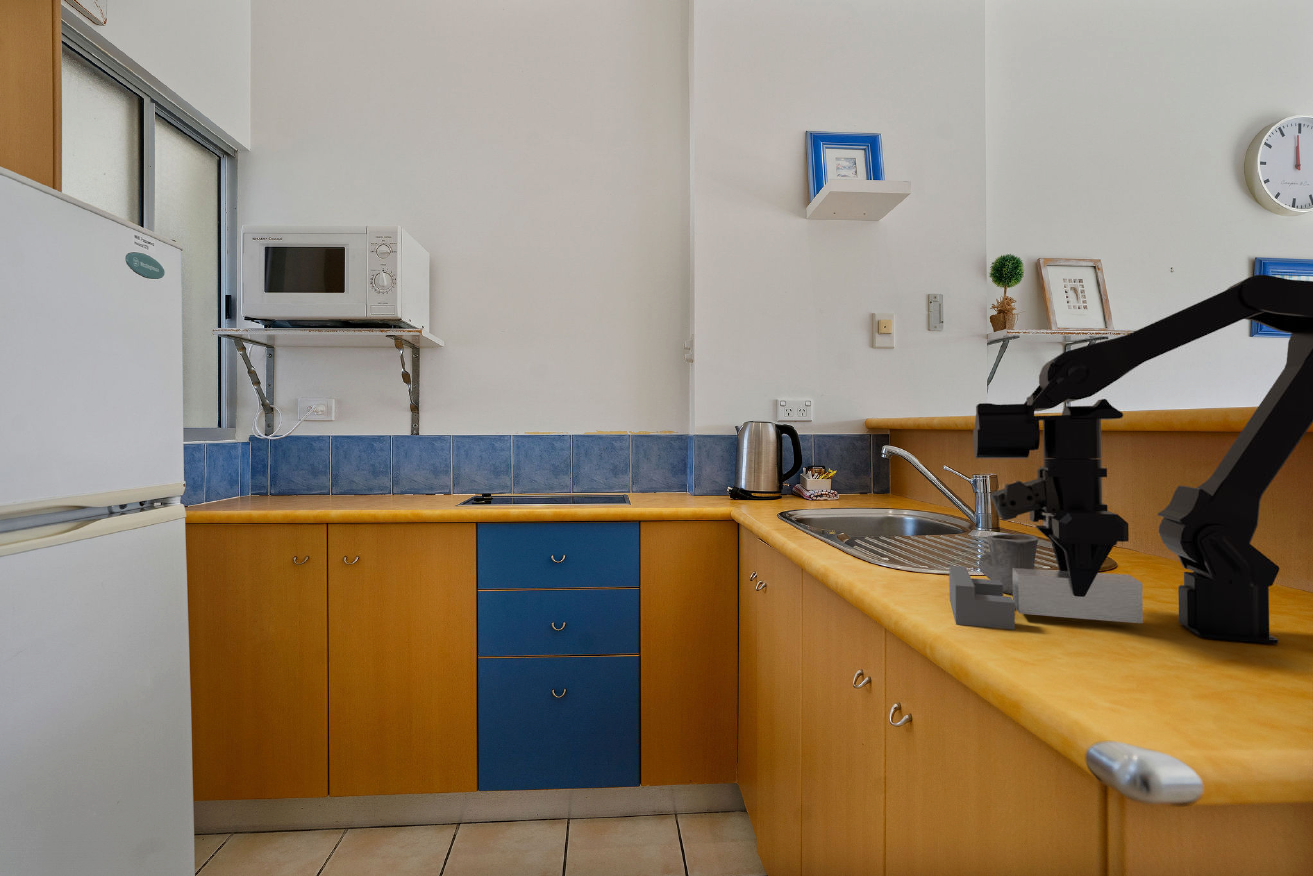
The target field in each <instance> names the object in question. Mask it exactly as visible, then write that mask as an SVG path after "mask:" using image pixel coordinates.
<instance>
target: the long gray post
mask: <svg viewBox="0 0 1313 876" xmlns="http://www.w3.org/2000/svg"><path fill="white" fill-rule="evenodd" d="M1012 600H1013V601H1014V603H1015V611H1017V613H1018V614H1022V615H1034V616H1035V615H1036V616H1047V617H1056V618H1058V617H1059V618H1072V619H1073V618H1074V619H1083V620H1095V621H1108V622H1119V623H1120V622H1122V623H1130V624H1131V623H1133V624H1143V623H1144V620H1143V619H1144V612H1143V610H1144V607H1143V606H1144V605H1143V582H1142V581H1140V580H1138V579H1137V578H1135V577H1133V575H1130V574H1123V573H1121V574H1120V573H1106V572H1103V573H1102V572H1098V573H1097V575H1096V577H1095V579H1094V581H1093V583H1092V584H1091V586H1090V588H1089V590H1088V592H1087V594H1086V596H1084V597H1077V596H1074V595H1073V592H1072V588H1071V583H1070V579H1069V574H1068V571H1059V570H1055V569H1054V570H1052V569H1036V568H1034V569H1021V568H1013V595H1012Z"/></svg>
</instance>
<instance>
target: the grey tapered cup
mask: <svg viewBox="0 0 1313 876" xmlns="http://www.w3.org/2000/svg"><path fill="white" fill-rule="evenodd" d="M986 539H987V544H988V548H989V551H988V552H986V553H984V554H982V555H981V557H980V558H979V559H978V569H979V571H980V572H981V574H982V575H984V576H985V577H986V578H988V580H1000V581H1001V583H1002V584H1003V594H1007V595H1010V596H1011V595H1012V596H1013V568H1021V569H1035V561H1036V555H1037V548H1038V547H1037V546H1038V543H1039V537H1037V536H1036V535H1030V534H1019V533H999V534H992V535H987V536H986Z"/></svg>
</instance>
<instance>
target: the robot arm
mask: <svg viewBox="0 0 1313 876" xmlns="http://www.w3.org/2000/svg"><path fill="white" fill-rule="evenodd" d="M1242 320H1245V321H1246V320H1247V321H1250V322H1251V321H1252V322H1253V323H1256V324H1260V325H1262V326H1265V327H1268V328H1269V329H1273V330H1274V331H1277V332H1282V333H1285V334H1290V337H1289V340H1288V343H1287V352H1286V353H1287V354H1286V355H1287V356H1286V363H1285V366H1284V368H1283V370H1282V371H1281V372H1280V374H1279V376H1278V377H1277V378H1276V380H1275V382H1274V383H1273V385H1272V386H1271V387H1270V389H1269V390H1268V392H1267V394H1265V397H1264V398H1263V399H1262V401H1261V402H1260V403H1259V405H1258V406H1257V408H1256V409H1255V411H1254V412H1253V414H1252V415H1251V417H1250V418H1249V420H1248V421H1247V423H1246V425H1245V426H1244V427H1243V429H1242V431H1240V433H1239V434H1238V436H1237V437H1236V439H1235V441H1234V442H1233V444H1232V445H1231V446H1230V448H1229V450H1228V451H1227V453H1226V454H1225V455H1224V457H1223V458H1222V460H1221V461H1220V463H1219V464H1218V465H1217V467H1216V469H1215V470H1214V471H1213V473H1212V475H1211V476H1210V477H1209V478H1208V479H1207V480H1206V481H1204V482H1203V483H1202V484H1200V485H1199V486H1197V487H1191V486H1185V485H1178V486H1177V487H1176V489H1175V491H1174V493H1173V495H1172V497H1171V500H1170V502H1169V503H1168V505H1167V506H1166V507H1165V508H1164V509H1162V510H1161V511H1159V512H1158V513H1157V516H1158V517H1162V520H1161V522H1160V524H1159V527H1158V533H1159V536H1160V538H1161V541H1162V543H1163V544H1164V546H1165V547H1166V548H1167V549H1168V550H1169V551H1171V552H1173V554H1176V555H1177V557H1178V560H1179V561H1180V564H1181V565H1182V567H1183V569H1186V570H1189V571H1184V572H1183V584H1180V585H1178V588H1177V590H1178V591H1177V592H1178V619H1177V620H1178V623H1179V624H1181V626H1184V627H1185V628H1187V629H1188V630H1189V631H1191V633H1194V634H1195V635H1196V636H1198V637H1201V638H1204V639H1205V638H1207V639H1215V640H1216V639H1217V640H1227V641H1239V642H1248V643H1249V642H1252V643H1263V644H1275V645H1278V644H1279V639H1278V638H1277V637H1275V636H1273V635H1271V634H1270V593H1269V592H1270V588H1269V587H1272V586H1274V582H1275V580H1276V578H1277V576H1278V574H1279V571H1280V566H1279V565H1277V564H1276V563H1275V562H1273V560H1271V559H1270V558H1269V557H1267V556H1266V555H1265V554H1263V553H1262V552H1261V551H1260V550H1258V549H1257V548H1256V547H1254V546H1253V545H1252V544H1251V542H1252V541H1253V537H1254V535H1255V533H1256V530H1257V528H1258V525H1259V518H1260V509H1261V501H1262V497H1263V495H1264V494H1265V492H1266V490H1267V489H1268V488H1269V486H1270V485H1271V483H1272V482H1273V481H1274V480H1275V478H1276V476H1277V475H1278V473H1279V472H1280V471H1281V469H1282V468H1283V466H1284V465H1285V463H1286V462H1287V460H1288V459H1289V458H1290V456H1291V455H1292V453H1293V451H1294V450H1295V449H1296V448H1297V446H1298V445H1299V443H1300V441H1301V440H1302V439H1303V438H1304V436H1305V435H1306V433H1307V431H1309V429H1310V427H1311V426H1312V425H1313V280H1303V279H1299V280H1298V279H1289V278H1285V277H1278V276H1272V275H1268V274H1256V275H1253V276H1250V277H1247V278H1245V279H1243V280H1241V281H1238V282H1237V283H1235V284H1232V285H1231V286H1230V287H1228V288H1227V289H1225V290H1224V291H1222V292H1219V293H1218V294H1215V295H1213V296H1211V297H1208V298H1206V299H1204V300H1202V301H1198V302H1197V303H1195V304H1193V305H1191V306H1188V307H1187V308H1184V309H1182V310H1179V311H1178V312H1174V313H1173V314H1171V315H1169V316H1167V317H1166V316H1165V317H1164V318H1162V319H1159V320H1157V321H1155V322H1152V323H1151V324H1148V325H1145V326H1144V327H1141V328H1139V329H1137V330H1135V331H1133V332H1130V333H1128V334H1125V335H1122V336H1118V337H1115V338H1111V339H1107V340H1103V341H1102V340H1101V341H1099V342H1098V341H1097V342H1095V343H1091V344H1088V345H1084V346H1080V347H1077V348H1073V349H1070V350H1067V351H1064V352H1061V353H1060V354H1059V355H1057V356H1056V357H1054V358H1052V359H1051V360H1048V361H1047V362H1046V363H1045V364H1044V365H1043V366H1042V368H1041V370H1040V373H1039V375H1038V384H1039V385H1038V386H1037V387H1036V388H1035V389H1034V391H1033V392H1032V393H1031V395H1030V396H1027V397H1026V400H1025V402H1023V403H1011V404H1009V403H1007V404H1005V403H1003V404H995V403H992V402H991V403H987V402H985V403H981V402H980V403H978V404H976V406H975V413H976V414H975V420H974V429H973V432H972V434H973V437H972V439H973V452H974V453H973V454H974V458H975V459H1028V458H1029V456H1030V451H1038V450H1039V449H1040V448H1039V447H1040V441H1041V439H1040V438H1041V436H1040V435H1041V433H1040V432H1041V430H1040V429H1041V428H1040V422H1042V434H1043V435H1042V442H1043V446H1042V447H1043V466H1040V468H1038V469H1037V478H1036V479H1033V480H1029V481H1026V482H1022V481H1021V480H1016V481H1015V482H1013V483H1006V484H1005V486H1004V488H1002V489H997V490H995V491H992V492H990V493H989V496H990V498H991V500H992V503H993V505H994V508H995V511H996V513H997V515H998V517H999V518H1001V520H1002V521H1007V520H1008V521H1009V520H1013V519H1015V518H1017V517H1018V516H1020V515H1023V514H1027V513H1029V520H1030V521H1031V522H1032V523H1033V522H1034V523H1038V522H1039V521H1042V525H1035V528H1036V529H1037V530H1038V531H1039V532H1041V534H1043V535H1044V536H1045V537H1046V538H1047V539H1048V540H1049V541H1050V542H1051V546H1052V549H1053V553H1054V556H1055V560H1056V563H1057V566H1058V571H1068V574H1069V579H1070V583H1071V588H1072V592H1073V595H1074V596H1077V597H1084V596H1086V594H1087V592H1088V590H1089V588H1090V586H1091V584H1092V583H1093V581H1094V579H1095V577H1096V575H1097V573H1100V572H1099V571H1100V570H1101V568H1102V566H1103V564H1104V563H1105V562H1106V559H1107V558H1108V556H1109V554H1110V552H1111V551H1112V549H1113V548H1114V547H1115V546H1117V544H1118V542H1120V543H1121V542H1123V543H1124V542H1130V538H1129V536H1130V534H1129V531H1130V530H1129V523H1128V521H1127V520H1125V519H1124V518H1122V516H1120V515H1119V514H1118V513H1115V512H1112V511H1109V510H1108V504H1106V503H1103V478H1108V468H1106V467H1103V465H1102V462H1103V461H1102V453H1103V452H1102V420H1103V421H1104V420H1105V421H1106V420H1109V421H1110V420H1118V419H1122V418H1123V417H1124V413H1123V412H1122V411H1120V410H1119V409H1117V408H1116V407H1115V406H1113V405H1111V403H1110V402H1109V401H1108V399H1106V398H1102V399H1098V400H1097V401H1096V402H1095V403H1094V404H1093V405H1076V406H1075V405H1074V406H1064V407H1063V409H1062V412H1061V415H1060V414H1059V415H1057V414H1056V415H1035V412H1042V411H1046V410H1050V409H1053V408H1055V407H1057V406H1059V405H1060V404H1063V403H1071V402H1075V401H1079V400H1083V399H1087V398H1090V397H1092V396H1094V395H1096V394H1097V393H1099V392H1101V390H1104V389H1105V388H1107V387H1109V386H1110V385H1112V384H1113V383H1115V382H1117V380H1120V379H1121V378H1122V377H1124V376H1126V375H1127V374H1128V373H1130V372H1131V371H1132V370H1134V369H1136V368H1137V367H1139V366H1140V365H1141V364H1144V363H1145V362H1147V361H1150V360H1152V359H1154V358H1157V357H1159V356H1161V355H1164V354H1166V353H1168V352H1171V351H1173V350H1175V349H1177V348H1180V347H1182V346H1184V345H1187V344H1189V343H1191V342H1194V341H1196V340H1199V339H1201V338H1203V337H1205V336H1208V335H1209V334H1210V335H1211V334H1212V333H1214V332H1217V331H1219V330H1222V329H1224V328H1226V327H1229V326H1231V325H1233V324H1235V323H1238V322H1239V321H1242Z"/></svg>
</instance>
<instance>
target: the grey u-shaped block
mask: <svg viewBox="0 0 1313 876" xmlns="http://www.w3.org/2000/svg"><path fill="white" fill-rule="evenodd" d="M948 568H949V571H948V572H949V575H948V576H949V602H950V607H951V611H952V615H953V619H954V622H955V625H959V626H970V627H983V628H991V629H1003V630H1015V629H1016V617H1015V616H1016V614H1015V613H1016V612H1015V611H1016V608H1015V603H1014V601H1013V597H1012V596H1007V595H1006V596H1004V592H1003V584H1002V583H1001V581H1000V580H991V579H989V578H988V579H987V578H986V579H985V578H984V579H983V578H972V577H971V575H970V573H969V570H968V568H967V566H959V565H958V566H957V565H949V567H948Z"/></svg>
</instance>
